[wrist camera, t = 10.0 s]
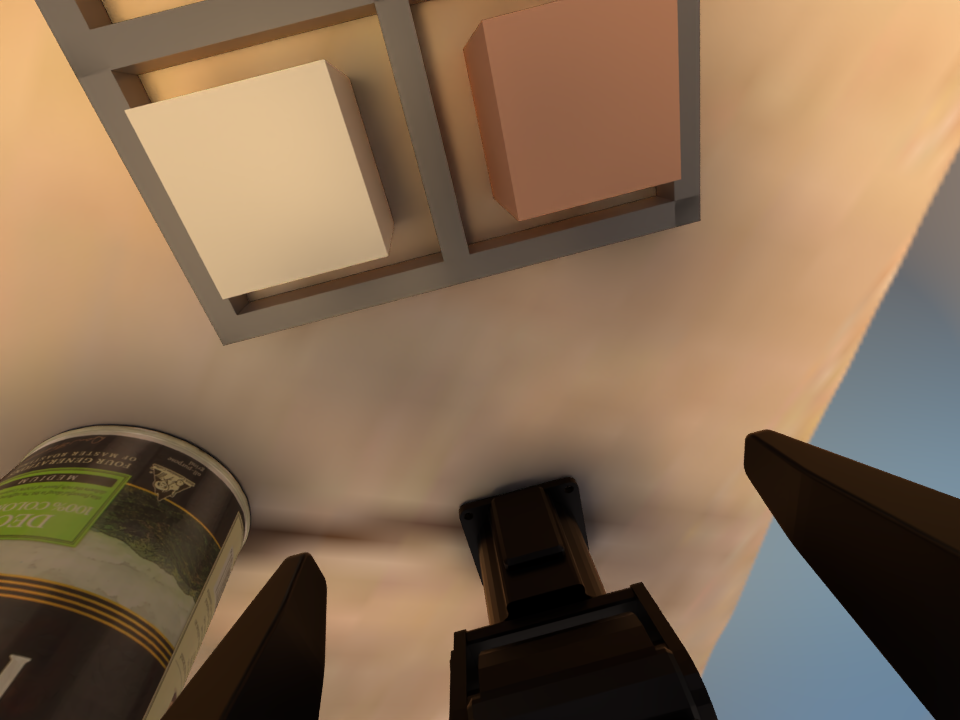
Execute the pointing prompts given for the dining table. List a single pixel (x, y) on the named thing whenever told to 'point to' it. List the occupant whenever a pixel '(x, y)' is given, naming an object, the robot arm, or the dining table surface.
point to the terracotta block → (577, 101)
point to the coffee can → (110, 571)
